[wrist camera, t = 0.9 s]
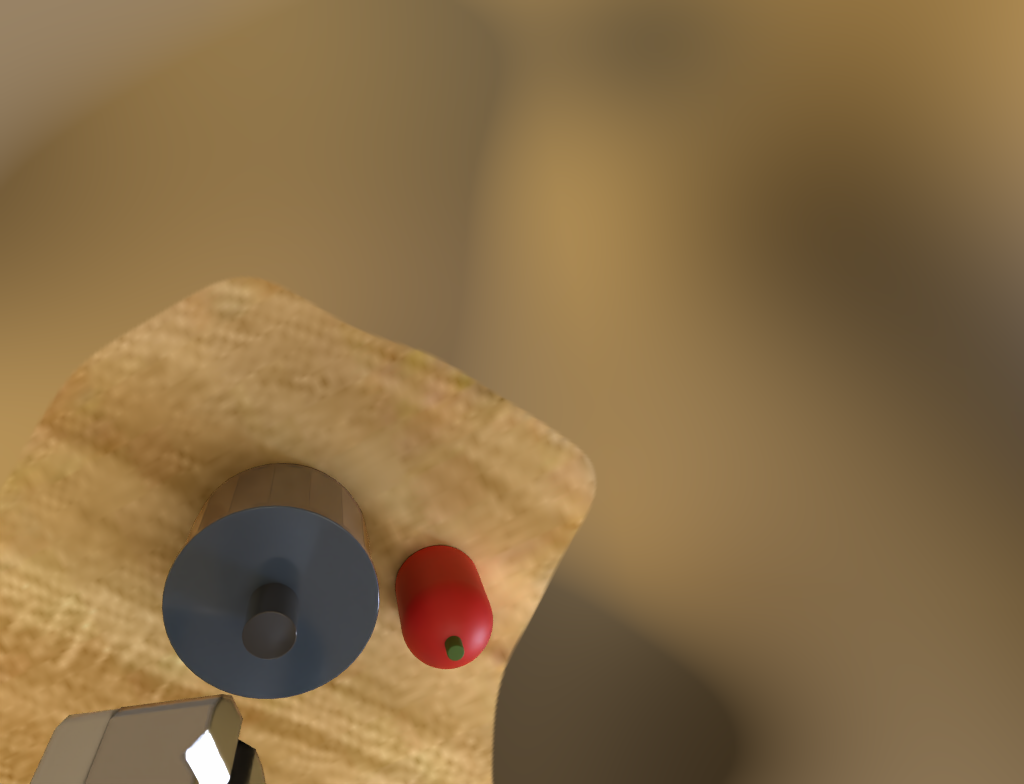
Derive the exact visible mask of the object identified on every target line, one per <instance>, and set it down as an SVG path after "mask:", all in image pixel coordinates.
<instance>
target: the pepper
mask: <svg viewBox="0 0 1024 784" xmlns="http://www.w3.org/2000/svg"><path fill="white" fill-rule="evenodd" d="M395 592H396V598H397V604H398V610H399V616H400V622H401V628H402V634H403V637H404V640H405V643H406V644H407V646H408V648H409V649H410V651H411V652H412V653H413V655H414V656H415V657H417V658H418V659H419V660H420V661H422V662H423V663H425V664H427V665H429V666H432V667H435V668H440V669H453V668H457V667H461V666H464V665H466V664H468V663H469V662H471V661H473V660H474V659H475V658H476V657H477V656H478V655H479V654H480V653H481V652H482V651H483V649H484V648H485V647H486V645H487V643H488V641H489V639H490V636H491V632H492V626H493V615H492V610H491V606H490V603H489V600H488V598H487V595H486V593H485V590H484V587H483V585H482V582H481V580H480V577H479V574H478V572H477V569H476V567H475V565H474V563H473V562H472V560H471V559H470V558H469V557H468V556H467V555H466V554H465V553H463V552H462V551H460V550H458V549H456V548H453V547H449V546H440V545H439V546H431V547H427V548H424V549H421V550H419V551H417V552H416V553H414V554H413V555H411V556H410V557H409V558H408V559H407V560H406V561H405V562H404V564H403V565H402V566H401V568H400V570H399V572H398V574H397V578H396V583H395Z"/></svg>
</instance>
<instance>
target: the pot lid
mask: <svg viewBox="0 0 1024 784" xmlns="http://www.w3.org/2000/svg"><path fill="white" fill-rule="evenodd" d="M379 602H380V600H379V584H378V579H377V573H376V570H375V567H374V564H373V561H372V559H371V557H370V555H369V553H368V551H367V550H366V548H365V547H364V545H363V544H362V542H361V541H360V540H359V539H358V538H357V536H356V535H355V534H354V533H353V532H352V531H351V530H350V529H349V528H347V527H346V526H345V525H344V524H342V523H341V522H340V521H338V520H337V519H335V518H333V517H332V516H330V515H328V514H326V513H324V512H321V511H319V510H317V509H314V508H311V507H307V506H304V505H299V504H293V503H284V502H268V503H258V504H252V505H247V506H244V507H240V508H237V509H234V510H231V511H229V512H227V513H225V514H222V515H220V516H218V517H217V518H215V519H213V520H212V521H210V522H209V523H207V524H206V525H204V526H203V527H202V528H201V529H199V530H198V531H197V532H196V533H195V534H194V535H193V536H192V537H191V538H190V539H189V540H188V541H187V542H186V543H185V545H184V546H183V547H182V549H181V550H180V552H179V553H178V555H177V556H176V558H175V560H174V562H173V564H172V566H171V568H170V571H169V574H168V576H167V579H166V582H165V587H164V591H163V600H162V612H163V621H164V625H165V629H166V633H167V636H168V638H169V640H170V643H171V645H172V647H173V648H174V650H175V652H176V653H177V655H178V656H179V658H180V659H181V660H182V661H183V663H184V664H185V665H186V666H187V667H188V668H189V669H190V670H191V671H192V672H193V673H194V674H195V675H197V676H198V677H199V678H201V679H202V680H204V681H205V682H207V683H208V684H210V685H212V686H214V687H216V688H218V689H220V690H223V691H225V692H228V693H231V694H234V695H239V696H243V697H248V698H257V699H276V698H285V697H290V696H295V695H299V694H302V693H305V692H308V691H311V690H314V689H316V688H318V687H320V686H322V685H324V684H326V683H327V682H329V681H331V680H332V679H334V678H335V677H337V676H338V675H339V674H341V673H342V672H343V671H344V670H346V669H347V668H348V667H349V666H350V665H351V664H352V663H353V662H354V661H355V660H356V658H357V657H358V656H359V654H360V653H361V652H362V651H363V649H364V648H365V646H366V644H367V642H368V641H369V639H370V637H371V635H372V632H373V630H374V627H375V624H376V620H377V616H378V611H379Z"/></svg>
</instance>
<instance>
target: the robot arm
mask: <svg viewBox="0 0 1024 784" xmlns="http://www.w3.org/2000/svg"><path fill="white" fill-rule="evenodd" d="M242 720H243V718H242V716H241V714H240V712H239V710H238V708H237V705H236V703H235V701H234V699H233V697H232V696H231V695H224V694H220V695H213V696H205V697H197V698H190V699H182V700H174V701H166V702H159V703H151V704H143V705H136V706H128V707H121V708H120V709H112V710H104V711H97V712H89V713H81V714H74V715H69V716H68V717H67V718H66V719H65V720H64V721H63V722H62V723H61V724H60V725H58V726H57V727H56V729H55V730H54V732H53V734H52V736H51V738H50V741H49V743H48V745H47V747H46V749H45V752H44V754H43V756H42V758H41V760H40V762H39V765H38V767H37V769H36V771H35V773H34V776H33V778H32V780H31V782H30V784H266V783H265V778H264V773H263V767H262V764H261V762H260V759H259V757H258V754H257V752H256V749H254V748H252V747H251V746H249V745H247V744H246V743H244V742H242V741H241V740H239V739H238V738H239V733H240V729H241V724H242Z"/></svg>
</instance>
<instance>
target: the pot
mask: <svg viewBox="0 0 1024 784" xmlns="http://www.w3.org/2000/svg"><path fill="white" fill-rule="evenodd" d="M268 502H284V503H293V504H299V505H304V506H307V507H311V508H314V509H317V510H319V511H321V512H324V513H326V514H328V515H330V516H332V517H333V518H335V519H337V520H338V521H340V522H341V523H342V524H344V525H345V526H346V527H347V528H349V529H350V530H351V531H352V532H353V533H354V534H355V535H356V536H357V538H358V539H359V540H360V541H361V542H362V544H363V545H364V547H365V548H366V550H367V551H368V553H369V555H370V557H371V554H370V545H369V538H368V534H367V531H366V526H365V521H364V518H363V515H362V512H361V509H360V508H359V506H358V504H357V503H356V501H355V500H354V498H353V497H352V495H351V494H350V493H349V492H348V491H347V490H346V489H345V488H344V487H343V486H342V485H341V484H340V483H338V482H337V481H336V480H335V479H333V478H331V477H330V476H328V475H327V474H325V473H323V472H320V471H318V470H316V469H313V468H310V467H307V466H302V465H297V464H287V463H277V464H267V465H262V466H257V467H254V468H251V469H248V470H246V471H243V472H241V473H239V474H237V475H235V476H234V477H232V478H230V479H229V480H227V481H226V482H225V483H223V484H222V485H221V486H220V487H218V488H217V489H216V491H215V492H213V493H212V494H211V496H210V497H209V499H208V500H207V501H206V503H205V504H204V506H203V508H202V509H201V511H200V513H199V515H198V516H197V518H196V519H195V521H194V524H193V526H192V529H191V531H190V534H189V536H188V539H187V541H188V540H189V539H190V538H191V537H192V536H193V535H194V534H195V533H196V532H197V531H198V530H199V529H201V528H202V527H203V526H204V525H206V524H207V523H209V522H210V521H212V520H213V519H215V518H217V517H218V516H220V515H222V514H225V513H227V512H229V511H231V510H234V509H237V508H240V507H244V506H247V505H252V504H258V503H268ZM187 541H186V542H187Z"/></svg>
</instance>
